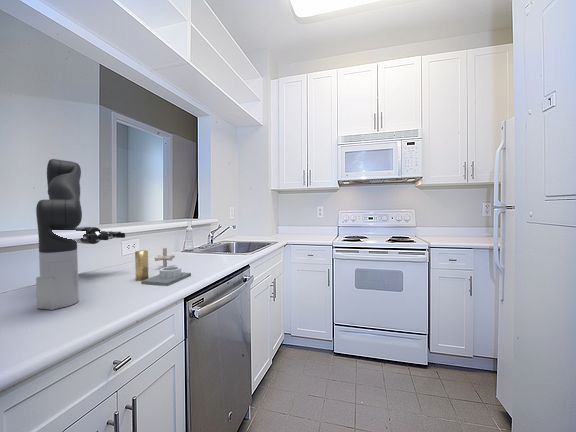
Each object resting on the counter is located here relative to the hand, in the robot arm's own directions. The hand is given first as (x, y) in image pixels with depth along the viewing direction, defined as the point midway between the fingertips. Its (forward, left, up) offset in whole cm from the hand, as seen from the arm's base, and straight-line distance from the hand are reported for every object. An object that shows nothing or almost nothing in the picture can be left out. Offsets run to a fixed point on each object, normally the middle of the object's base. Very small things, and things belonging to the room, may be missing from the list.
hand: (116, 236), depth 117 cm
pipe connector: (+21, -8, -18) cm, 29 cm away
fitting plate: (+2, -24, -18) cm, 30 cm away
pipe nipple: (0, -13, -18) cm, 22 cm away
